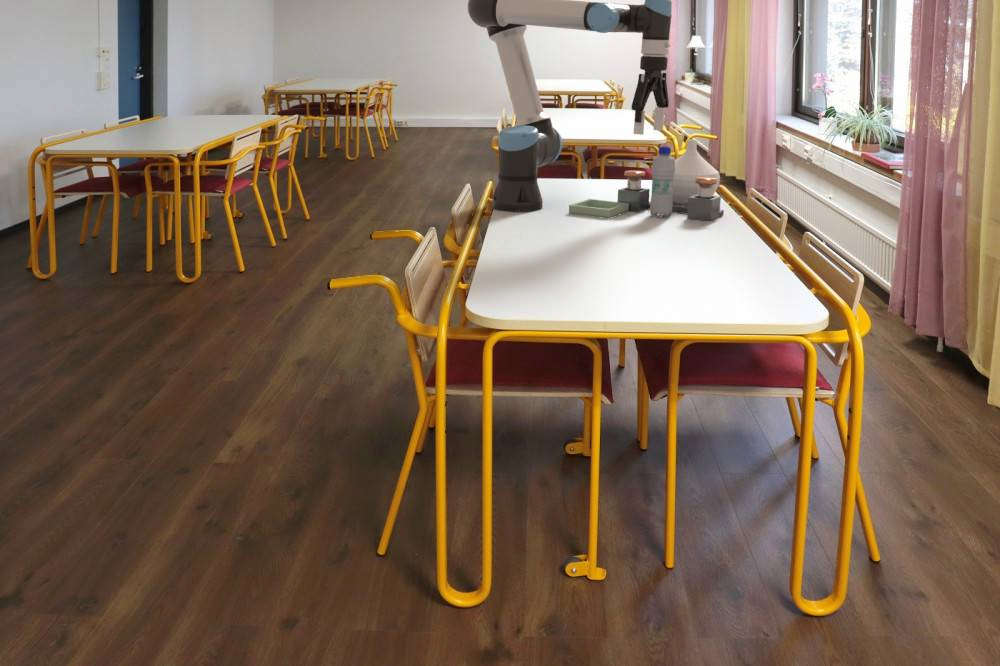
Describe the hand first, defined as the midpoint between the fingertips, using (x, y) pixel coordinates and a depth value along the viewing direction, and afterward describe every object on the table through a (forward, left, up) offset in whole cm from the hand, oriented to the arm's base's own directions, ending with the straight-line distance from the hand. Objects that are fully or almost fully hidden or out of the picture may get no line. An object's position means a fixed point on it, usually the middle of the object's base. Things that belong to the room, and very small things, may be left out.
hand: (648, 132), depth 280 cm
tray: (-10, -10, -23) cm, 27 cm away
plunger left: (-4, +1, -20) cm, 20 cm away
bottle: (+7, -4, -23) cm, 25 cm away
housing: (+7, +3, -23) cm, 24 cm away
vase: (+5, +22, -23) cm, 32 cm away
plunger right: (+18, +1, -20) cm, 27 cm away
